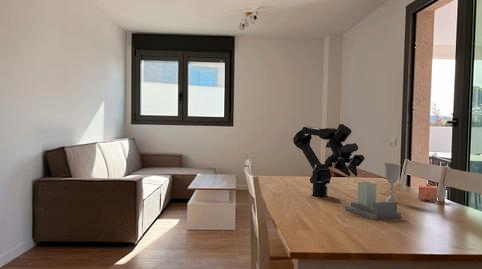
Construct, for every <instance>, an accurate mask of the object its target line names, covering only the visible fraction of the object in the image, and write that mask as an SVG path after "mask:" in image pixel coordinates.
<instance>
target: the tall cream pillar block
mask: <svg viewBox="0 0 482 269" xmlns="http://www.w3.org/2000/svg"><path fill="white" fill-rule="evenodd" d="M357 183H358V184H357V203H358V204H361V205H364V206H367V207H370V208H373V205H374V202H377V183H374V182H370V181H360V182H359V181H358V182H357Z"/></svg>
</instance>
